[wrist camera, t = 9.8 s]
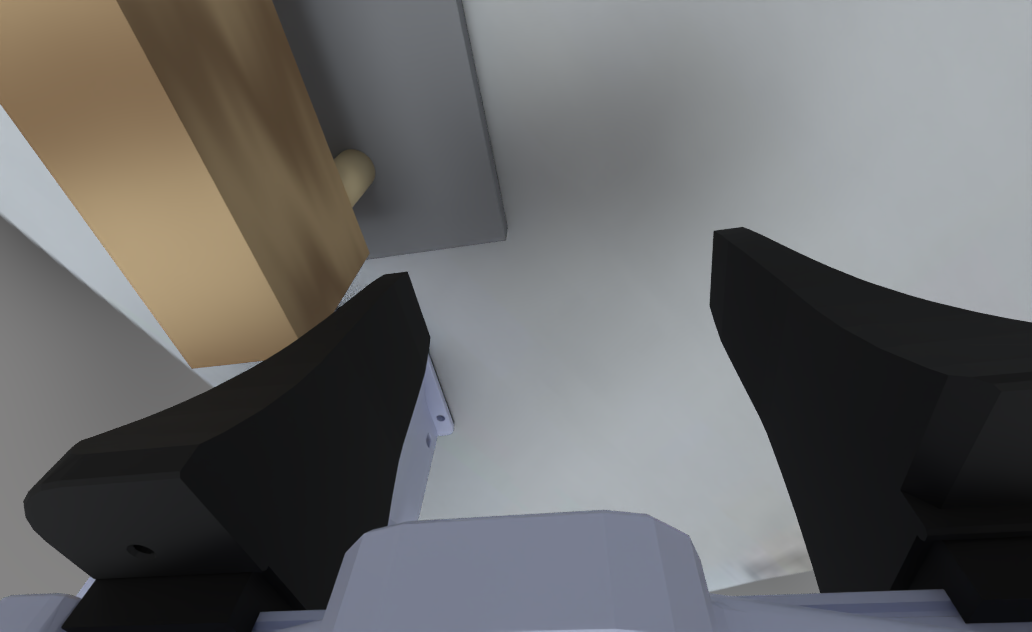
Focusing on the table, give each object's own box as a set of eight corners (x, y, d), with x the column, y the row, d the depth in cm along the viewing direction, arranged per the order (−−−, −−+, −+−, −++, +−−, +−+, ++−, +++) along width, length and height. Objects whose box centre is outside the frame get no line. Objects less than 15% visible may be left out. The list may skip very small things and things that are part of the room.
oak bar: (369, 253, 19) (307, 355, 14) (281, 265, 19) (191, 368, 14) (150, -313, 11) (-175, -539, 6) (12, -266, 11) (-393, -440, 6)
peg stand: (507, 228, 22) (500, 275, 19) (245, 265, 24) (196, 314, 21) (373, -433, 12) (307, -586, 9) (-59, -284, 14) (-252, -363, 11)
